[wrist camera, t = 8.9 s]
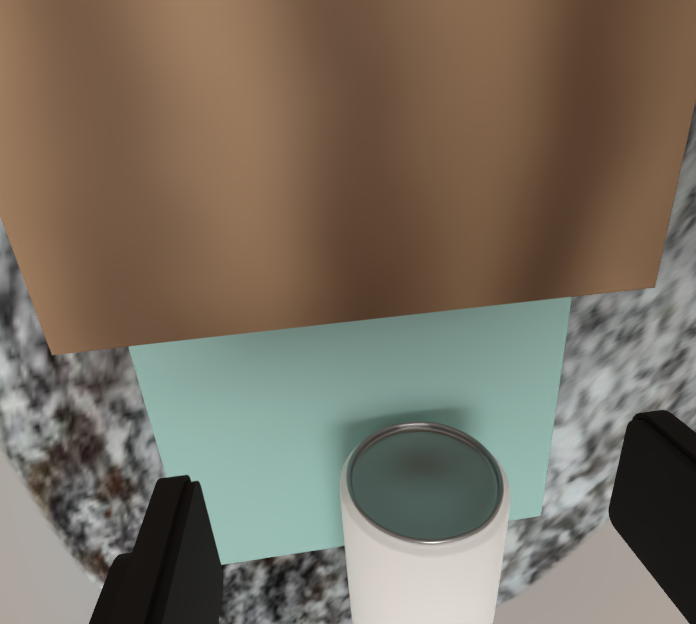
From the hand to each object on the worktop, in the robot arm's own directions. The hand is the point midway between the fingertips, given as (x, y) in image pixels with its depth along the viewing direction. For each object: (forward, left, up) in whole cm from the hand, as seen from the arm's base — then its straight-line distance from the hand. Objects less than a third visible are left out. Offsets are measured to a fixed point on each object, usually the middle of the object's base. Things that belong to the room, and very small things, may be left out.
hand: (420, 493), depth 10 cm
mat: (0, +6, -10) cm, 11 cm away
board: (0, -7, -10) cm, 12 cm away
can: (-2, +5, -6) cm, 8 cm away
